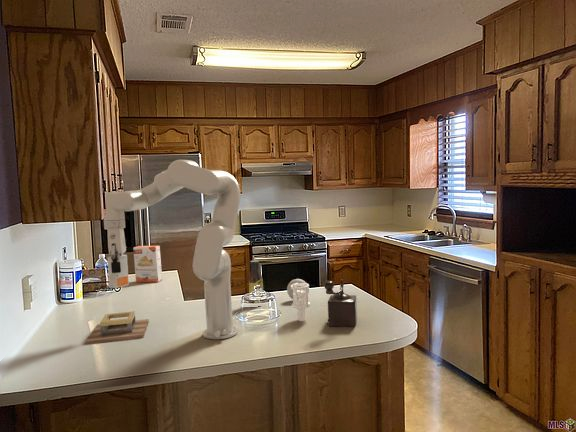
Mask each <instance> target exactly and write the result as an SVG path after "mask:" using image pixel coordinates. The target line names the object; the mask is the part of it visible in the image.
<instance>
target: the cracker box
mask: <svg viewBox="0 0 576 432" xmlns="http://www.w3.org/2000/svg"><path fill="white" fill-rule="evenodd" d="M132 251H133V262H134V273H135V283H160V282H162V281H163V272H162V260H161V257H162V256H161V246H160V245H138V246H134V247H133V250H132Z"/></svg>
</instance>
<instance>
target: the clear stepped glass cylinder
mask: <svg viewBox="0 0 576 432" xmlns="http://www.w3.org/2000/svg"><path fill="white" fill-rule="evenodd" d="M306 283H307V282H306ZM306 283H295V284H293V285H291V289H292V290H293V299H292V303H291V308H293V309H296V311H297V321H298V322H304V321H306V320H307V319H306V309H307V308H310V307H311V303H310V301H309V293H308V288H309V289H310V284H309V283H307V284H306ZM299 286H305V287H299ZM304 290H305V291H304Z"/></svg>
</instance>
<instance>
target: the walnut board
mask: <svg viewBox="0 0 576 432" xmlns="http://www.w3.org/2000/svg"><path fill="white" fill-rule="evenodd" d="M135 320H136V324H135V327H134V329H133V331H132V332H129V333H119V334H110V335H101V326H100V323H99V324H97V325H95V327H94V328H93V330H92V332H91V333H90V334H89V336H88V337H87V339H86V340H85V344H86V345H91V343H92V344H99V343H108V342H118V341H124V340H134V339H142V338H144V337H145V334H146V331H147V329H148V326H149V323H150V320H149V318H147V319H135ZM119 328H128V327H127V326H118V327H110V328H109V329H119Z"/></svg>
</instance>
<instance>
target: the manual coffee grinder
mask: <svg viewBox="0 0 576 432" xmlns="http://www.w3.org/2000/svg"><path fill="white" fill-rule="evenodd" d="M339 281H340V284H339V286H340V288H339V291H334V290H333V289H334V288H335V283H334V281H332V280H326V281H324V283H323V288H324V289H325V290H326V291H325V293H326V295H330V296H329V298H328V300H327V312H328V313H327V315H328V318H327V322H328V324H327V326H328V327H336V328H354V327H355V328H356V326H357V324H358V311H357V308H358V307H357V295H354V294H351V295H350V294H348V293H345V292H344V286H345V285H344V280H343V279H340V280H339Z"/></svg>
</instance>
